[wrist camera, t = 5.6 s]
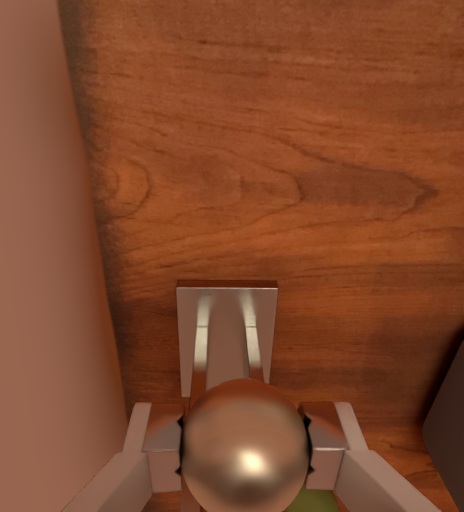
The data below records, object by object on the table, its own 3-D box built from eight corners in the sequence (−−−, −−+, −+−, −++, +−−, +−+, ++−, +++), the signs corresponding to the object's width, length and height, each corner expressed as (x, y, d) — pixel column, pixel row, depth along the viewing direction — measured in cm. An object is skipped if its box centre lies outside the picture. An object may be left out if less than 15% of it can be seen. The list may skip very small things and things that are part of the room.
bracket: (177, 279, 29) (96, 693, 10) (276, 280, 30) (382, 682, 10) (182, 387, 35) (137, 786, 16) (266, 387, 35) (322, 778, 16)
